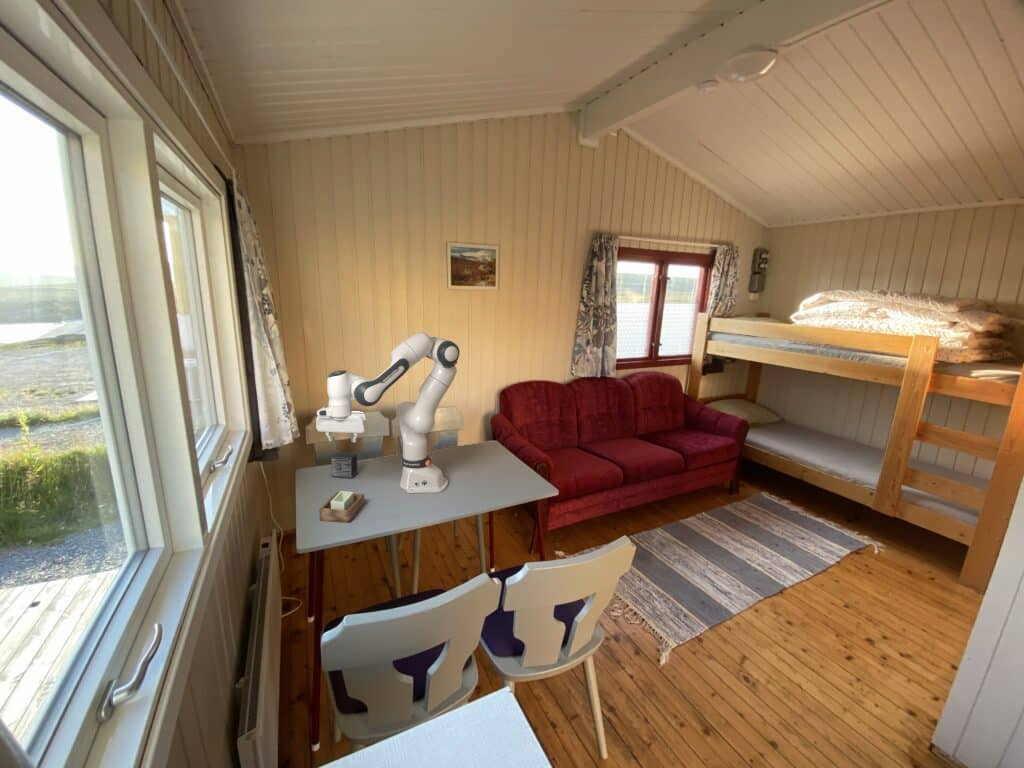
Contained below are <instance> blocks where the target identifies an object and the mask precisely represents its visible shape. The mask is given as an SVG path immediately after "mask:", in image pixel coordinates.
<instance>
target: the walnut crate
mask: <svg viewBox="0 0 1024 768" xmlns="http://www.w3.org/2000/svg"><path fill="white" fill-rule="evenodd" d="M339 492H340V491H335V492H334V494H333V495H332V496H331V497H330V498H329V499H328V500H326V502H325V503H324V504H323V505H322V506H321V507H320V508H319V510H318V511H319V521H320V522H332V523H345V524H350V523H351V522H352V521H353V520H354V518H355V517H356V516H357V514H358V513H359V512H360V510H361V509H362V508H363V507H364V505H365V493H363V492H354V503H353V504H352V506H351V507H350V508H349V509H348V510H338V509H331V501H332V500H333V499H334V498H335V497H336V496H337V495H338V493H339Z"/></svg>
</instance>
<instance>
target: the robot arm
mask: <svg viewBox="0 0 1024 768" xmlns="http://www.w3.org/2000/svg"><path fill="white" fill-rule="evenodd" d="M460 352H461V351H460V348H459V346H458V345H457V343H455V342H454V341H451V340H448V339H445V338H441V337H436V336H435V337H434V336H433V337H430V336H429V334H427V333H425V332H422V331H421V332H417V333H415V334H413V335H411V336H410V337H408V338H406V339H404V340H403V341H402V342H400V343H398V344H397V346H395V347H394V348H393V350H392V351H391V352H390V365H389V366H388V367H387V368H386V369H385V370H384V371H382V372H381V373H380V374H379V375H378V376H377V377H375V378H374V379H369V378H367V377H365V376H363V375H357V374H353V373H351V372H349V371H347V370H343V369H342V370H336V371H333V372H331V373H329V375H328V376H327V381H326V390H327V391H326V392H327V396H328V404H327V405H326V406H325V405H324V406H323V407H320V409H318V410H317V411H316V418H315V427H316V428H315V429H316V431H317V432H319V433H320V432H322V433H324V432H325V435H326V436H327V438H328V441H329V442H330V443H333V442H335V436H333V435H332V433H344V434H345V433H348V434H353V436H354V437H352V438H351V439H350V441H351V443H355V444H356V443H357V441H358V440H357V438H358V436H359V434H364V433H365V432H366V431H367V430H368V424H367V414H366V413H365V412H364V411H362V410H353V404H352V403H353V402H352V401H353V400H356V402H357V404H359V405H361V406H363V407H372V406H374V405H376V404H378V402H379V401H380V400H381V398H382V397H383V395H384V394H385V392H386V391H387V390H389V388H391V387H392V386H393V385H394V384H396V382H397V381H399V380H400V379H401V378H402V377H403V376H404V375H405V374H406V373H407V372H408V371H409V369H412V367H414V365H416V364H418V363H419V362H421V360H422V359H424V358H428V359H429V360H431V361H434V366H433V368H432V370H431V372H430V373H429V374H428V375H427V377H426V378H425V380H424V381H423V383H422V384H421V385H420V387H419V389H418V397H417V400H416V402H413V401H402V402H400V404H398V405H397V407H396V409H395V414H396V417H397V420H398V424H399V428H400V429H399V430H400V435H401V439H402V456H401V469H402V472H401V478H400V482H399V487H400V488H402V489H403V490H405V491H406V493H408V494H422V493H423V494H425V493H426V494H428V493H429V494H430V493H431V494H432V493H442V492H443V491H445V490H446V489H447V487H448V485H449V480H448V478H447V477H445V476H444V473H443V471H442V469H441V468H439V467H438V466H436V465H435V464H434V463H432V455H431V456H429V455H428V439H427V437H426V434H428V433H430V432H431V431H432V429H433V428H434V427H435V424H436V420H435V415H436V412H437V410H438V407H439V404H440V402H441V401H442V399H443V397H444V396H445V394H446V393H447V391H448V389H449V388H450V387H451V385H452V383H453V381H454V379H455V377H456V375H457V373H458V368H457V366H456V365H457V364H458V360H459V357H460Z"/></svg>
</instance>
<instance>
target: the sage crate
mask: <svg viewBox="0 0 1024 768" xmlns="http://www.w3.org/2000/svg"><path fill="white" fill-rule="evenodd" d="M338 492H339V493H338V495H337V496H336V497H335V498H334V499H333V500H332V501H331V509H338V510H348V509H349V508H350V507H351V506H352V504H353V503H354V493H355V492H354V491H344V490H341V491H338Z"/></svg>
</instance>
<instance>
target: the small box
mask: <svg viewBox="0 0 1024 768" xmlns="http://www.w3.org/2000/svg"><path fill="white" fill-rule="evenodd" d="M330 463H331V465H330V466H331V478H339V479H341V478H342V479H354V477H355V476H357V475H358V455H357V453H346V452H336V453H334V454H333V455H331V456H330Z"/></svg>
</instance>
